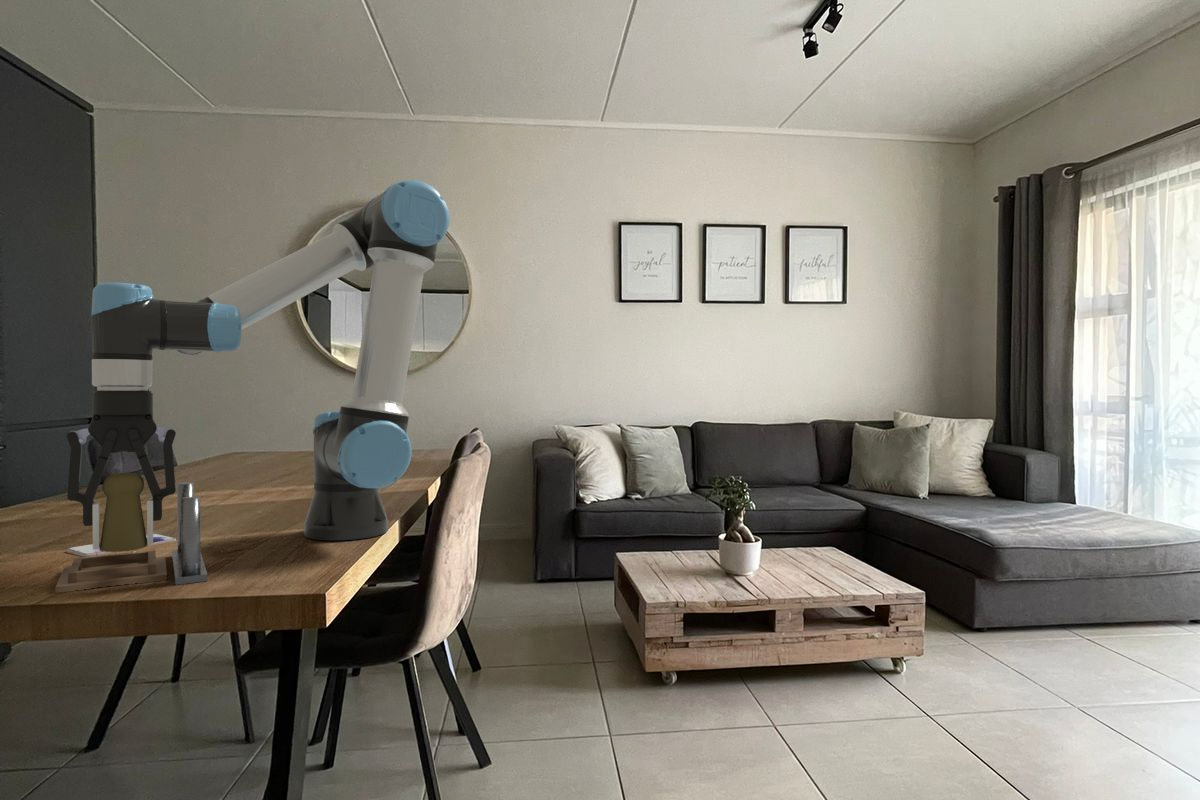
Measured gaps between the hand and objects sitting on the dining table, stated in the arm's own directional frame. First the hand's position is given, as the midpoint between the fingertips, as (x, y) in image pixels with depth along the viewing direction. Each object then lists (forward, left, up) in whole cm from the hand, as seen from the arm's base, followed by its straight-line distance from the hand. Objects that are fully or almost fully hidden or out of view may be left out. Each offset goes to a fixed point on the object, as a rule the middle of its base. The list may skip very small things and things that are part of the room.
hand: (123, 544), depth 109 cm
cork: (0, 0, -1) cm, 1 cm away
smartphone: (+1, -23, -5) cm, 24 cm away
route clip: (-8, 0, -4) cm, 10 cm away
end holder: (+1, 0, -4) cm, 5 cm away
